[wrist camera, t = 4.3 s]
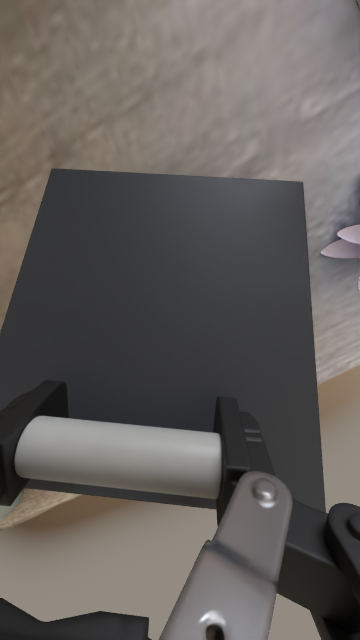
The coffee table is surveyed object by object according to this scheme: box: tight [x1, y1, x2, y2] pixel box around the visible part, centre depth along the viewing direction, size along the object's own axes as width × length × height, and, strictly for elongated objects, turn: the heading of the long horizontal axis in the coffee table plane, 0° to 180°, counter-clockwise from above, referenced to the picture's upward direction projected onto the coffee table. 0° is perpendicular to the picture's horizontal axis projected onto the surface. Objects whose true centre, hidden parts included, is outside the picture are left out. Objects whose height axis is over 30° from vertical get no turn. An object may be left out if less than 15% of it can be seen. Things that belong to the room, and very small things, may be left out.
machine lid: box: [0, 168, 326, 513], centre depth 12 cm, size 17×16×5 cm
